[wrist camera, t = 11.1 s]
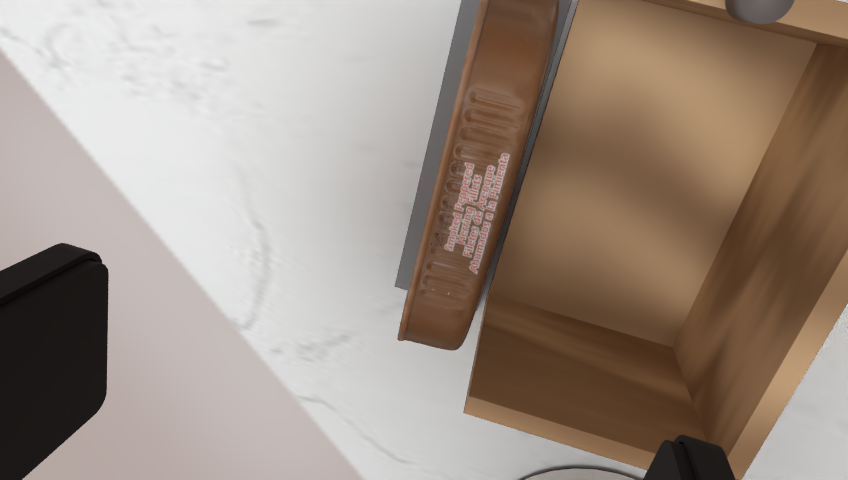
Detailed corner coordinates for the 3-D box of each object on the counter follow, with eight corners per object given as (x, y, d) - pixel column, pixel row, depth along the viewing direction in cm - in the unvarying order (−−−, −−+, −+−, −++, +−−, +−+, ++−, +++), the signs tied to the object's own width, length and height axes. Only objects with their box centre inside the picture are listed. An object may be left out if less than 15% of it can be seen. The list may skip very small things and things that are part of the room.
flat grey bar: (477, 308, 31) (476, 310, 30) (396, 284, 31) (394, 286, 31) (586, -50, 24) (586, -51, 23) (480, -76, 24) (479, -76, 24)
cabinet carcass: (679, 358, 30) (742, 527, 20) (485, 301, 30) (458, 438, 21) (844, 21, 23) (1054, 35, 13) (591, -40, 24) (621, -67, 14)
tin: (493, -35, 24) (469, -51, 17) (568, -16, 24) (579, -24, 16) (414, 281, 30) (370, 376, 23) (473, 299, 30) (449, 401, 22)
